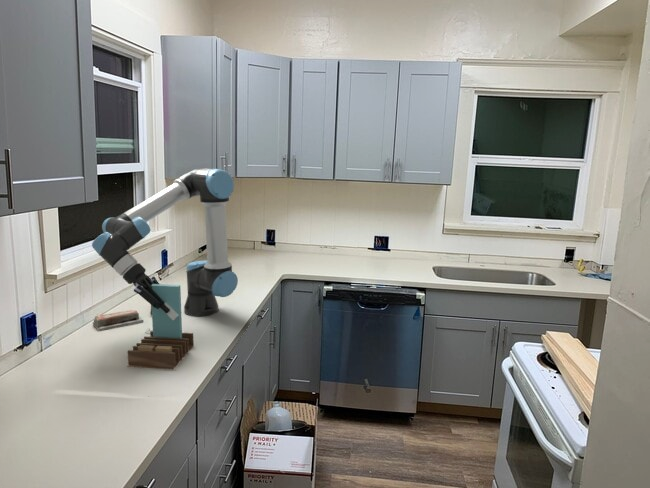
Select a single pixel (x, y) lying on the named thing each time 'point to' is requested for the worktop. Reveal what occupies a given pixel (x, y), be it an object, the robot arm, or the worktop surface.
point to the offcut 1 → (146, 348)
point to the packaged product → (117, 320)
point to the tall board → (160, 319)
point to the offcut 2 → (163, 349)
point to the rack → (160, 358)
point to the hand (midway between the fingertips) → (177, 316)
